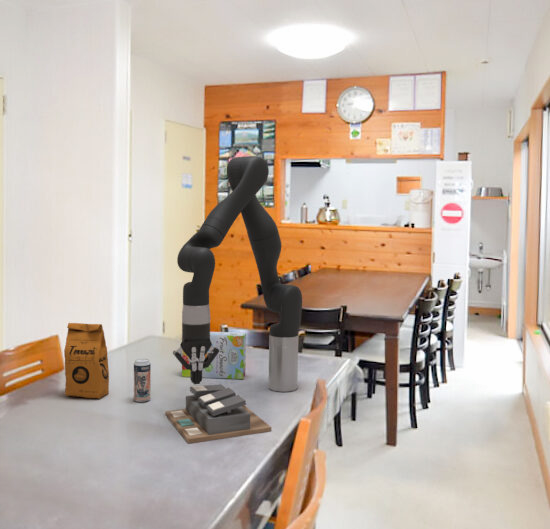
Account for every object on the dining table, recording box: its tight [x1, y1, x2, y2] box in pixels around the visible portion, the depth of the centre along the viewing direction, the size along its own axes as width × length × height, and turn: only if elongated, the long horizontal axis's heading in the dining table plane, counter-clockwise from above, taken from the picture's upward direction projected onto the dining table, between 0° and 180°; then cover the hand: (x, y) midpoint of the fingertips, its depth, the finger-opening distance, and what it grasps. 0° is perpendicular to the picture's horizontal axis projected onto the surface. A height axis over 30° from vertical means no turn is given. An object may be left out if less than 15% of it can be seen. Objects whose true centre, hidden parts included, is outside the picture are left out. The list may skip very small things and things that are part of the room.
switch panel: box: [164, 394, 272, 445], centre depth 160 cm, size 22×22×5 cm
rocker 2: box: [198, 387, 237, 408], centre depth 160 cm, size 5×9×2 cm, turn 115°
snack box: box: [181, 331, 247, 380], centre depth 205 cm, size 21×6×15 cm, turn 84°
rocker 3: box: [206, 394, 247, 416], centre depth 154 cm, size 5×9×2 cm, turn 115°
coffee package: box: [63, 322, 110, 400], centre depth 181 cm, size 10×12×22 cm
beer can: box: [133, 358, 152, 403], centre depth 178 cm, size 5×5×12 cm
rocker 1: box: [189, 383, 227, 396], centre depth 166 cm, size 5×9×2 cm, turn 115°
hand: (196, 383), depth 165 cm, fingers closed
